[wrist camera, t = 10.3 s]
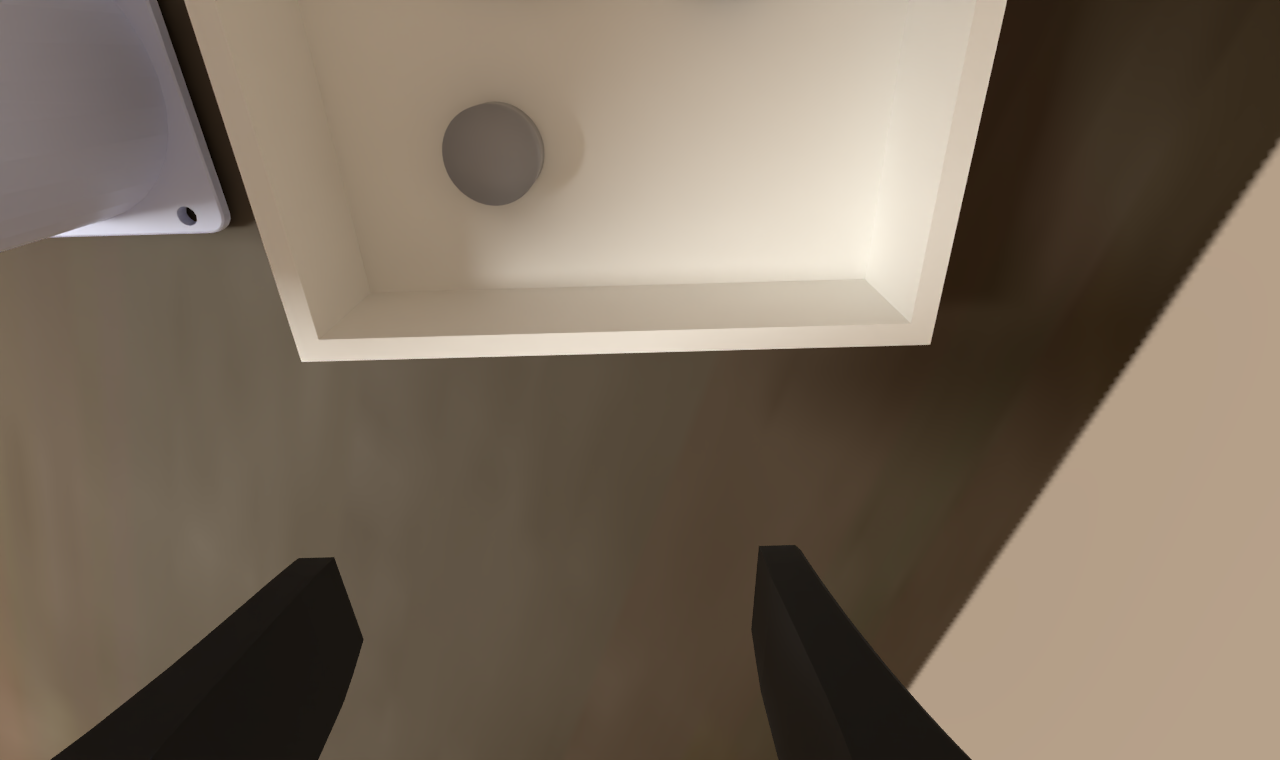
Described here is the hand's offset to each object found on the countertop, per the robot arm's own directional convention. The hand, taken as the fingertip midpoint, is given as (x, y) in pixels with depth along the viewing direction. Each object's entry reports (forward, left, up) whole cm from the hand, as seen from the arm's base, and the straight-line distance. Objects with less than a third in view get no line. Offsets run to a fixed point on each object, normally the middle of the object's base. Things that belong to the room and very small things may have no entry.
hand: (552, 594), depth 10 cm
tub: (+1, +8, -10) cm, 13 cm away
